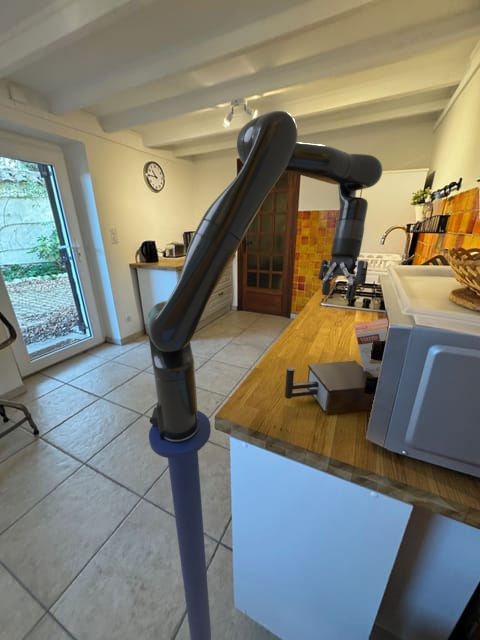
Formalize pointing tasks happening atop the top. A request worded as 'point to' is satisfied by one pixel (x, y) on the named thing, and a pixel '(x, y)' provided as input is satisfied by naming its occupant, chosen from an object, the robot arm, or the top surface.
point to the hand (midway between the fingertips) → (336, 297)
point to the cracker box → (370, 342)
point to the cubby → (343, 386)
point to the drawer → (313, 386)
